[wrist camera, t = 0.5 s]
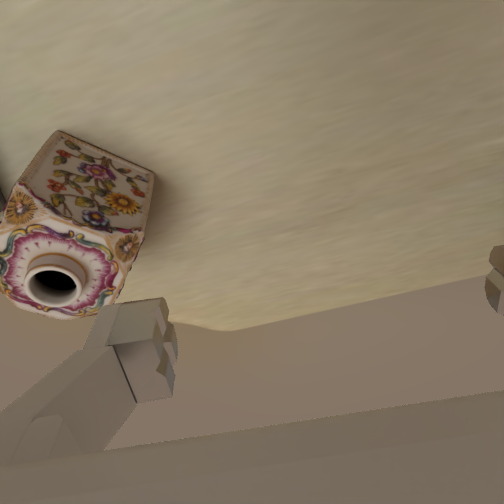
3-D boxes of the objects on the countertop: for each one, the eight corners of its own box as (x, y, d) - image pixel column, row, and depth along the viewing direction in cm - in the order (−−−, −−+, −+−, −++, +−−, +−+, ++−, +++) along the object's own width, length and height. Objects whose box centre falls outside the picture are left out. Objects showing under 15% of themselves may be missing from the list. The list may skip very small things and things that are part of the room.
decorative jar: (55, 125, 44) (-9, 208, 30) (157, 170, 49) (144, 261, 34) (28, 212, 50) (-38, 317, 35) (122, 245, 54) (97, 351, 40)
